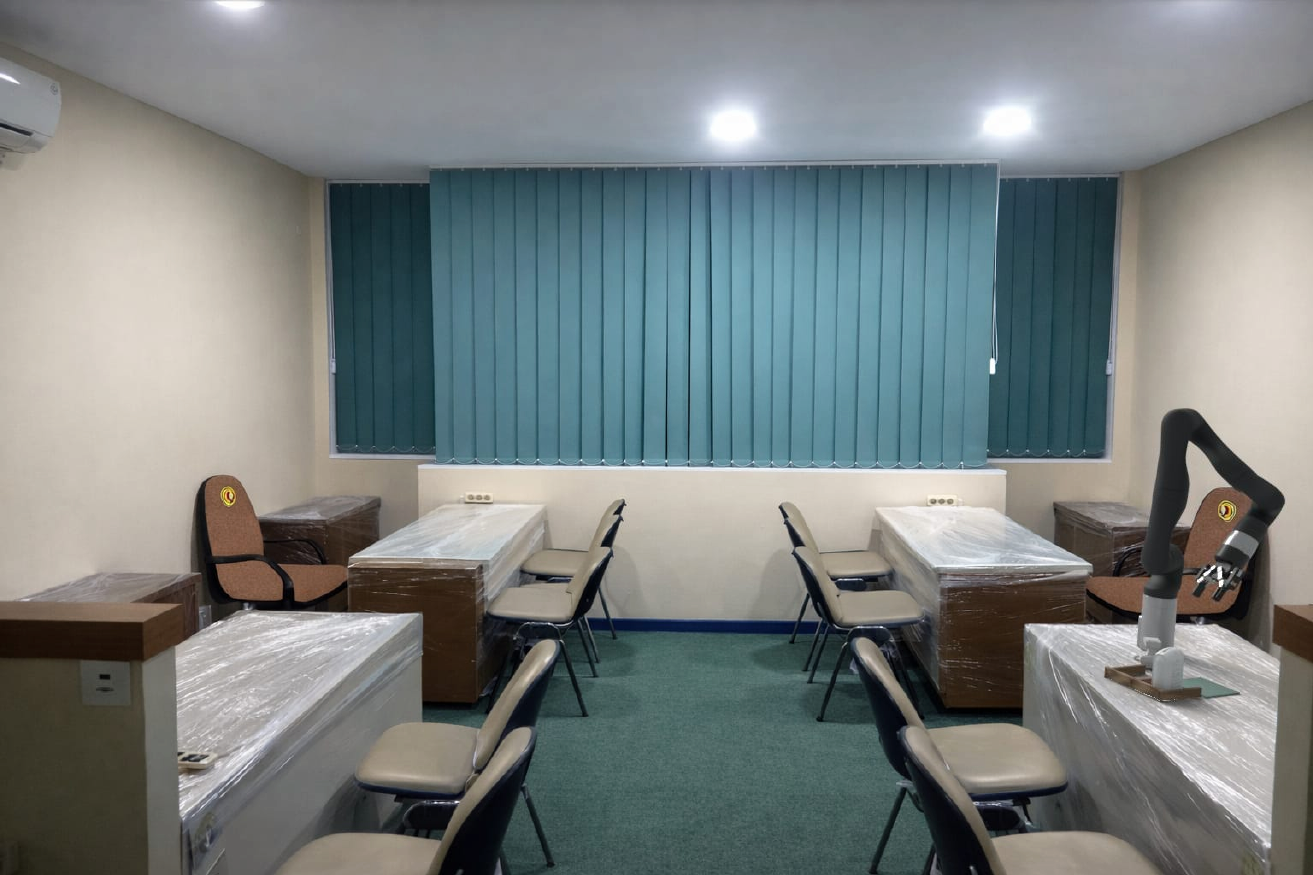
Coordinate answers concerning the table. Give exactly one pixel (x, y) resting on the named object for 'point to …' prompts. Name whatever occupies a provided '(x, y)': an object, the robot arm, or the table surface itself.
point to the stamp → (1148, 651)
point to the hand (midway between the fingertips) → (1204, 598)
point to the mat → (1208, 687)
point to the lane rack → (1147, 683)
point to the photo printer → (1168, 669)
